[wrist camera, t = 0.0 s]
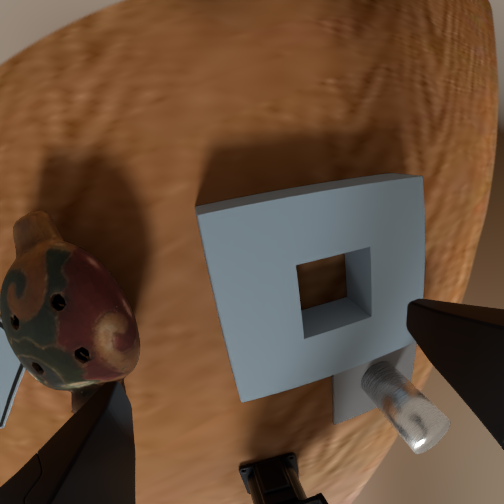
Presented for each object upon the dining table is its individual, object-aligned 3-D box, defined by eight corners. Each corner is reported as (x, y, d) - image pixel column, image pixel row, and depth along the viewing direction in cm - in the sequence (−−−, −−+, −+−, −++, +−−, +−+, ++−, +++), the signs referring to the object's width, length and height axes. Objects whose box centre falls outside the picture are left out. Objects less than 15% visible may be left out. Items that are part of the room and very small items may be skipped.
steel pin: (391, 383, 30) (444, 439, 21) (359, 397, 29) (410, 460, 20) (394, 355, 29) (455, 411, 19) (361, 369, 28) (418, 433, 19)
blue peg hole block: (394, 320, 28) (419, 339, 24) (232, 372, 25) (241, 402, 22) (391, 172, 24) (422, 176, 20) (194, 206, 21) (197, 215, 18)
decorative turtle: (90, 394, 23) (64, 457, 16) (4, 239, 19) (-58, 263, 12) (185, 364, 24) (181, 433, 16) (98, 183, 20) (46, 186, 12)
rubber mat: (407, 390, 32) (409, 391, 31) (332, 422, 30) (334, 424, 30) (416, 320, 29) (418, 321, 29) (331, 352, 27) (333, 355, 27)
